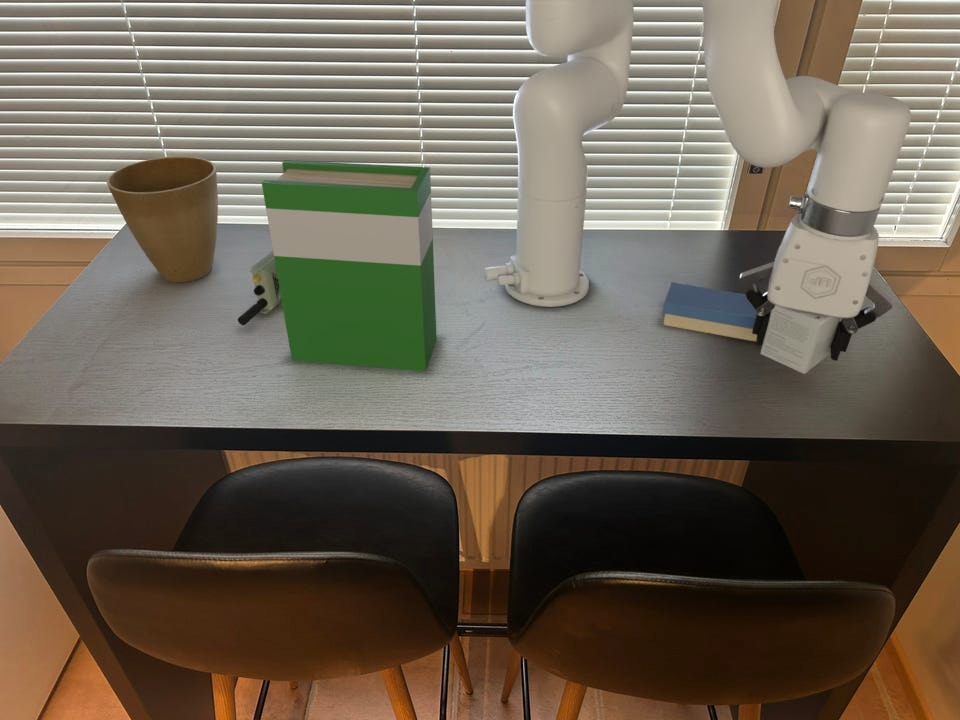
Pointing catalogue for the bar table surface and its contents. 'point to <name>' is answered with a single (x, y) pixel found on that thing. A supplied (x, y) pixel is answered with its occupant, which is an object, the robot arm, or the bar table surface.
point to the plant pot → (171, 212)
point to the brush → (710, 311)
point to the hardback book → (355, 262)
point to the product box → (798, 338)
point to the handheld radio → (263, 288)
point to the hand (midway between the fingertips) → (796, 346)
